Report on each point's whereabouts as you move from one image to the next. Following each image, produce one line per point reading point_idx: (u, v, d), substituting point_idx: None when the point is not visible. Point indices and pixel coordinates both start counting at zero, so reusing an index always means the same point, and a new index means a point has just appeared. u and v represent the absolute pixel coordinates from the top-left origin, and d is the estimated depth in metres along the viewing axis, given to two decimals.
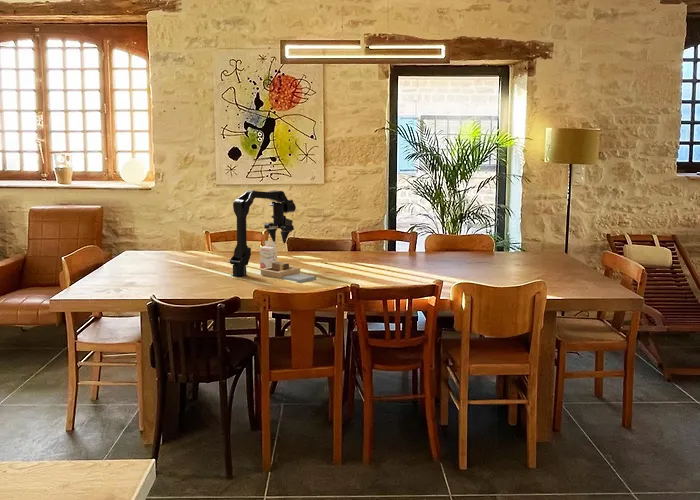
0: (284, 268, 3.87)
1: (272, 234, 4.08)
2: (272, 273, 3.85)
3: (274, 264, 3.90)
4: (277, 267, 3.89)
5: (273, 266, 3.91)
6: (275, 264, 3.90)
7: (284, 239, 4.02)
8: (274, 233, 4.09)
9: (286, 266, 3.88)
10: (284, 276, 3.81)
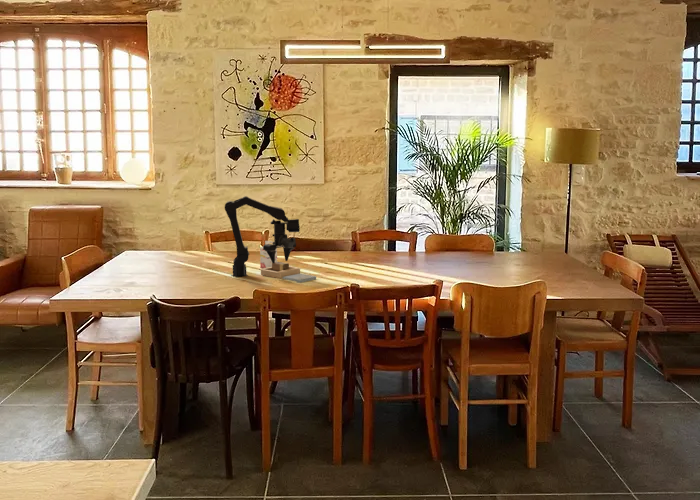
0: (284, 268, 3.87)
1: (285, 253, 3.94)
2: (272, 273, 3.85)
3: (274, 264, 3.90)
4: (277, 267, 3.89)
5: (273, 266, 3.91)
6: (275, 264, 3.90)
7: (271, 259, 3.86)
8: (287, 252, 3.93)
9: (286, 266, 3.88)
10: (284, 276, 3.81)
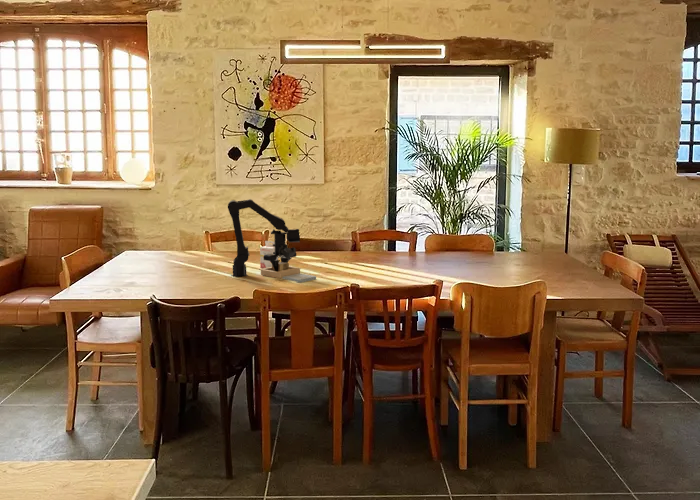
0: (284, 268, 3.87)
1: None
2: (272, 273, 3.85)
3: None
4: None
5: None
6: None
7: (275, 268, 3.89)
8: (284, 262, 3.92)
9: (286, 266, 3.88)
10: (284, 276, 3.81)
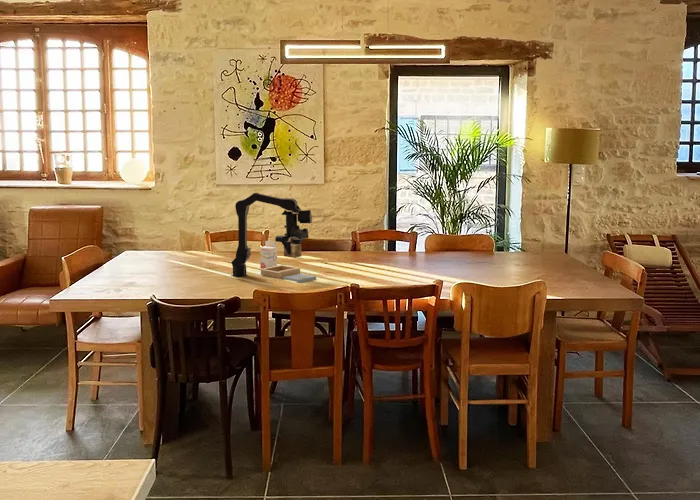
0: (296, 250, 3.79)
1: None
2: (272, 273, 3.85)
3: None
4: None
5: None
6: None
7: (287, 250, 3.81)
8: None
9: (298, 247, 3.80)
10: (284, 276, 3.81)
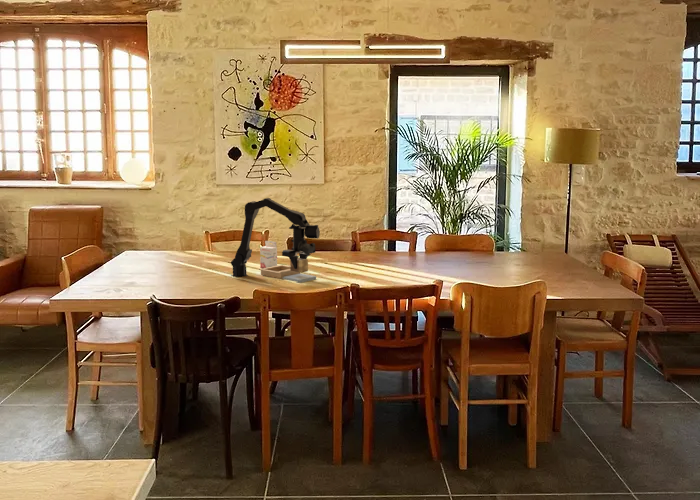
0: (303, 264, 3.76)
1: None
2: (272, 273, 3.85)
3: None
4: None
5: (291, 262, 3.80)
6: None
7: (293, 264, 3.78)
8: None
9: (305, 262, 3.77)
10: (284, 276, 3.81)
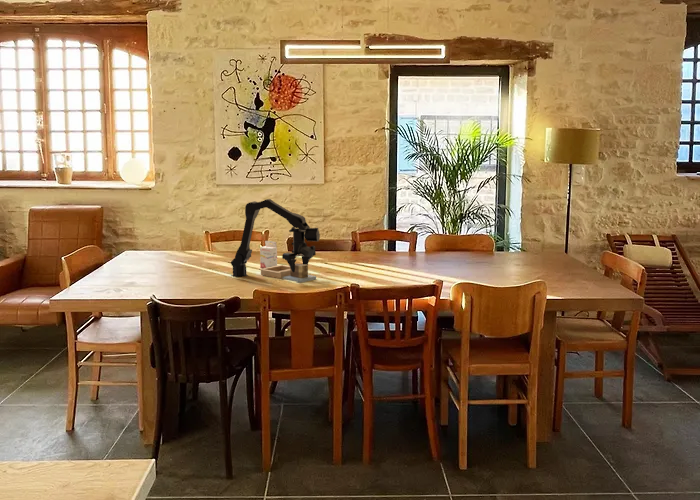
0: (303, 270, 3.77)
1: (303, 262, 3.83)
2: (272, 273, 3.85)
3: None
4: (296, 269, 3.78)
5: None
6: None
7: (291, 267, 3.77)
8: (305, 261, 3.82)
9: (305, 268, 3.78)
10: (284, 276, 3.81)
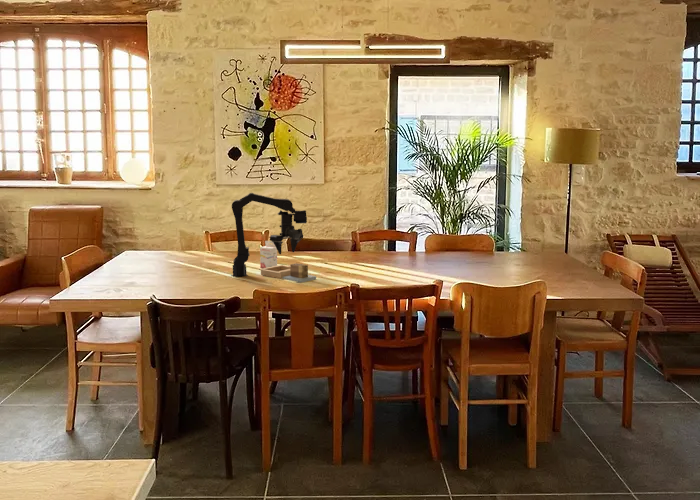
0: (303, 270, 3.77)
1: (292, 244, 3.93)
2: (272, 273, 3.85)
3: (293, 266, 3.79)
4: (296, 269, 3.78)
5: (291, 268, 3.80)
6: (294, 266, 3.79)
7: (278, 249, 3.86)
8: (294, 243, 3.92)
9: (305, 268, 3.78)
10: (284, 276, 3.81)
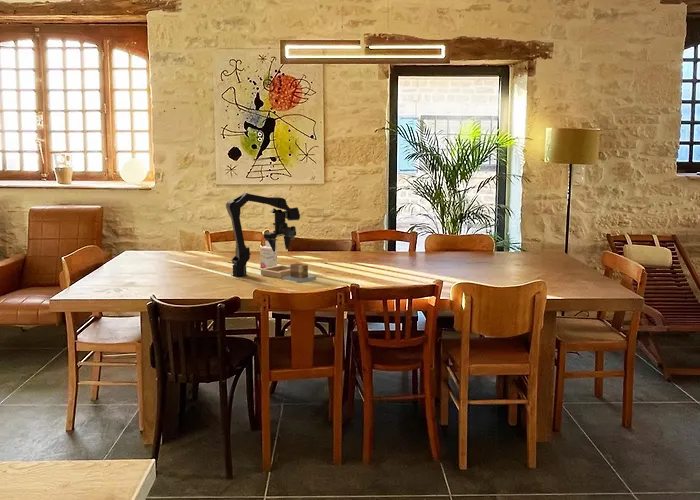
0: (303, 270, 3.77)
1: (285, 242, 4.00)
2: (272, 273, 3.85)
3: (293, 266, 3.79)
4: (296, 269, 3.78)
5: (291, 268, 3.80)
6: (294, 266, 3.79)
7: (272, 247, 3.92)
8: (287, 241, 3.99)
9: (305, 268, 3.78)
10: (284, 276, 3.81)
